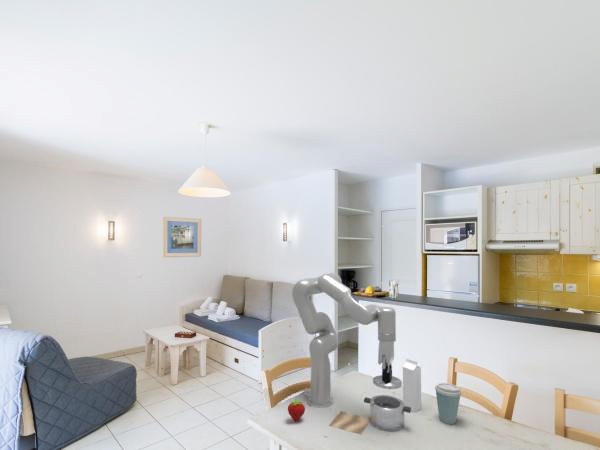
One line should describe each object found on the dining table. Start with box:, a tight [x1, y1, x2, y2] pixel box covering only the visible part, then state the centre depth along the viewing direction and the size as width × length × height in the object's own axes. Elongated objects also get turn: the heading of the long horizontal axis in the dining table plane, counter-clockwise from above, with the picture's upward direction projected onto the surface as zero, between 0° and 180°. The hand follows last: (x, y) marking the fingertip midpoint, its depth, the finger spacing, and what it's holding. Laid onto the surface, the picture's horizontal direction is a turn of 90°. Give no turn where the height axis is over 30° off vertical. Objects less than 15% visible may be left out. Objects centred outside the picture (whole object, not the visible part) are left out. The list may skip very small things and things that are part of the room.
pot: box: [363, 394, 412, 433], centre depth 144 cm, size 20×14×9 cm
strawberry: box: [287, 398, 306, 422], centre depth 146 cm, size 6×8×10 cm
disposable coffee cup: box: [434, 382, 462, 425], centre depth 148 cm, size 11×11×15 cm
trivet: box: [328, 410, 370, 435], centre depth 145 cm, size 14×14×1 cm
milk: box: [402, 358, 422, 413], centre depth 159 cm, size 6×6×22 cm
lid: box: [372, 368, 403, 390], centre depth 145 cm, size 12×12×6 cm
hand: (387, 379), depth 145 cm, fingers closed on lid, 3 cm apart
